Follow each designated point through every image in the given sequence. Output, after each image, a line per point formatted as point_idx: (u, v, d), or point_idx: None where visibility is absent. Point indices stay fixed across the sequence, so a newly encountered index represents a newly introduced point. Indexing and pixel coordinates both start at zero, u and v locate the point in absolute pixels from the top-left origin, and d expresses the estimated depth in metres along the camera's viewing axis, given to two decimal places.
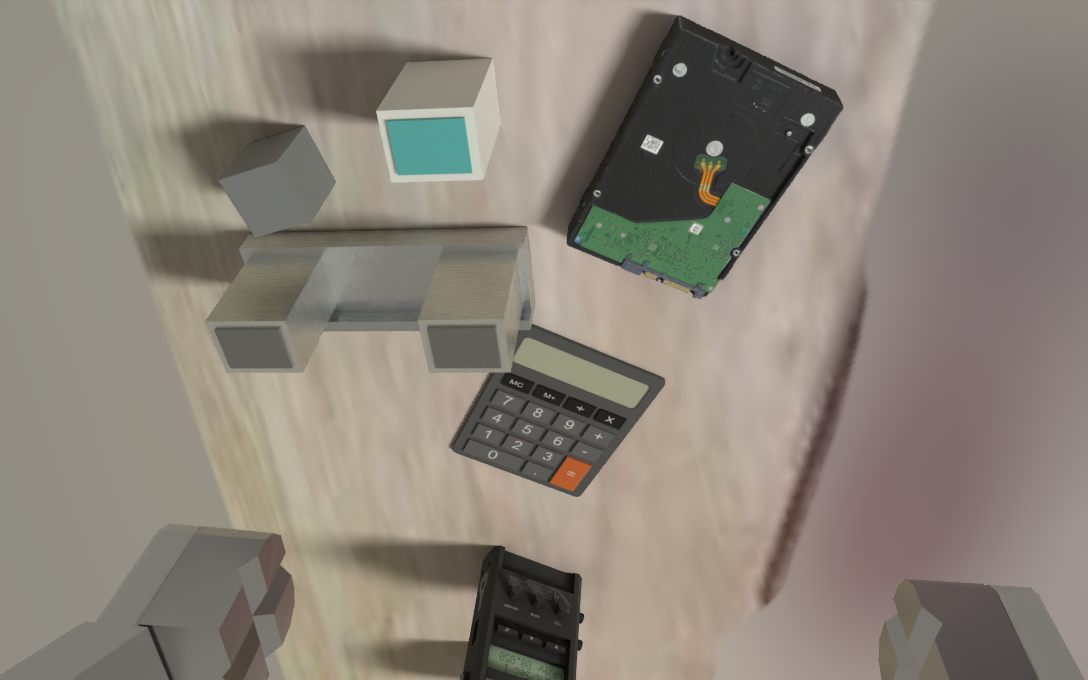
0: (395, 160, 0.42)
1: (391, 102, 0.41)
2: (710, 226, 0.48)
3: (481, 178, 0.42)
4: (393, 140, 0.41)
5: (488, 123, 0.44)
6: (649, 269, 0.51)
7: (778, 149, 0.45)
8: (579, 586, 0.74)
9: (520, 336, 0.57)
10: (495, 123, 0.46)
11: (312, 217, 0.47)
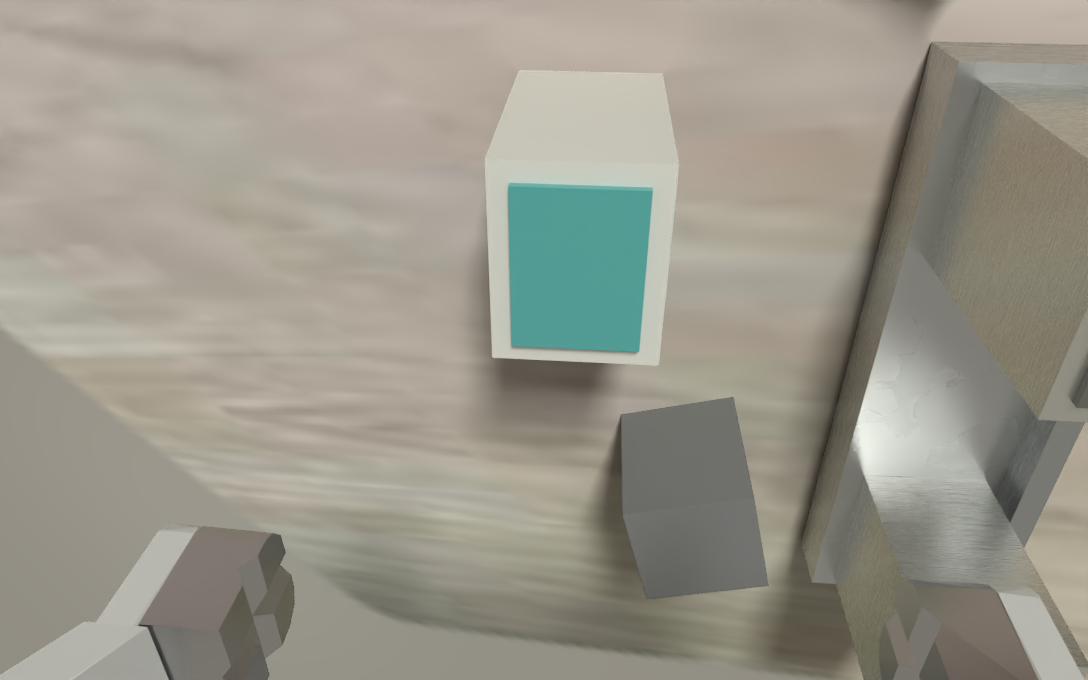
0: (603, 348, 0.19)
1: None
2: None
3: (674, 168, 0.16)
4: (555, 342, 0.19)
5: (599, 112, 0.19)
6: None
7: None
8: None
9: None
10: (635, 88, 0.21)
11: (748, 491, 0.24)
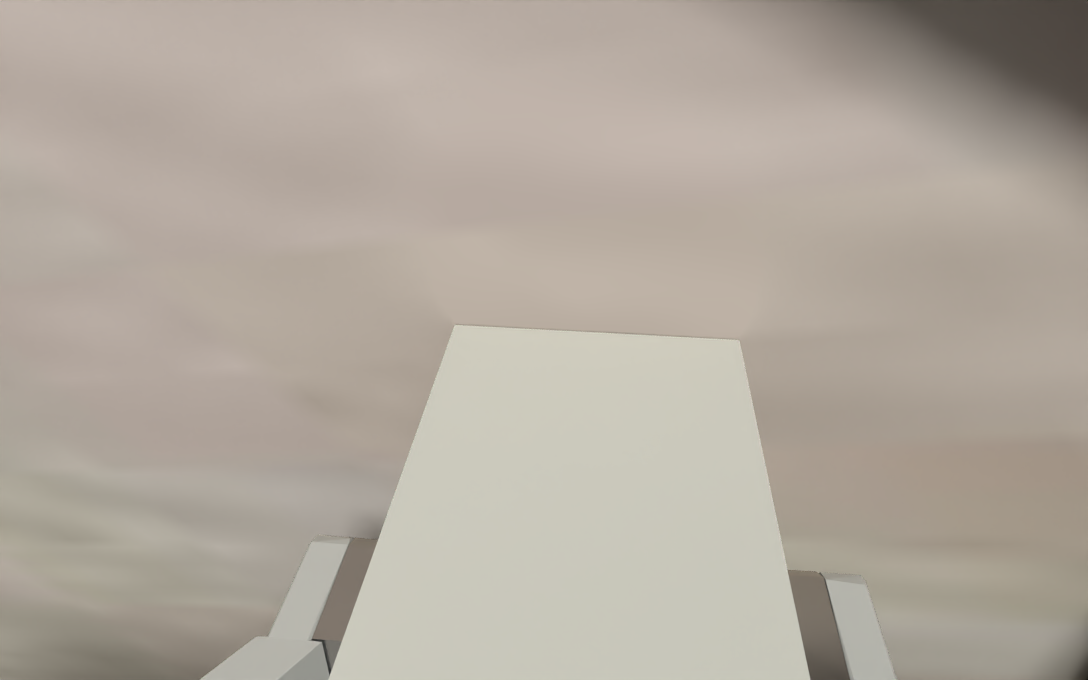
0: None
1: None
2: None
3: None
4: None
5: (611, 524, 0.08)
6: None
7: None
8: None
9: None
10: (689, 405, 0.10)
11: None
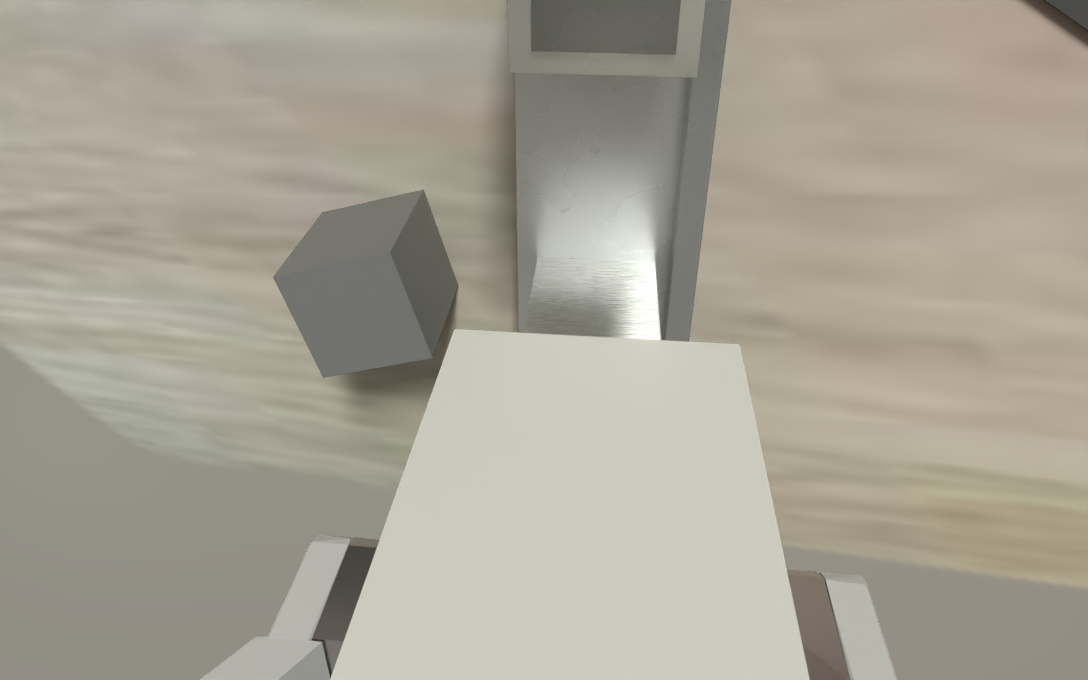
0: None
1: None
2: None
3: None
4: None
5: (611, 530, 0.08)
6: None
7: None
8: None
9: None
10: (689, 410, 0.10)
11: (388, 248, 0.25)
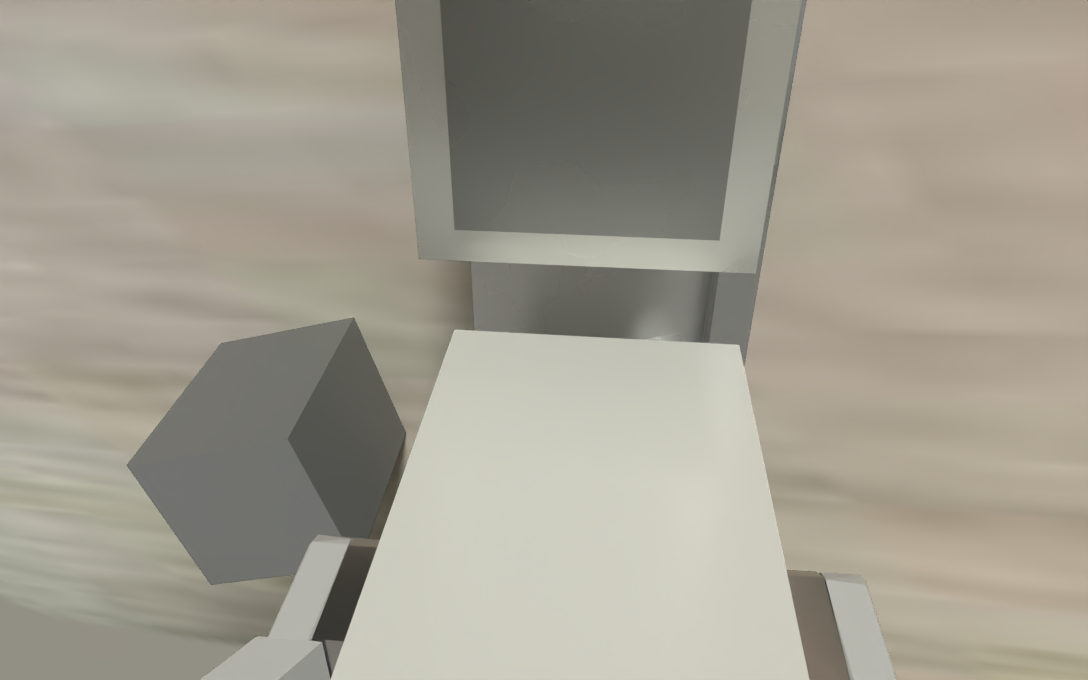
0: None
1: None
2: None
3: None
4: None
5: (611, 530, 0.08)
6: None
7: None
8: None
9: None
10: (689, 410, 0.10)
11: (287, 431, 0.17)
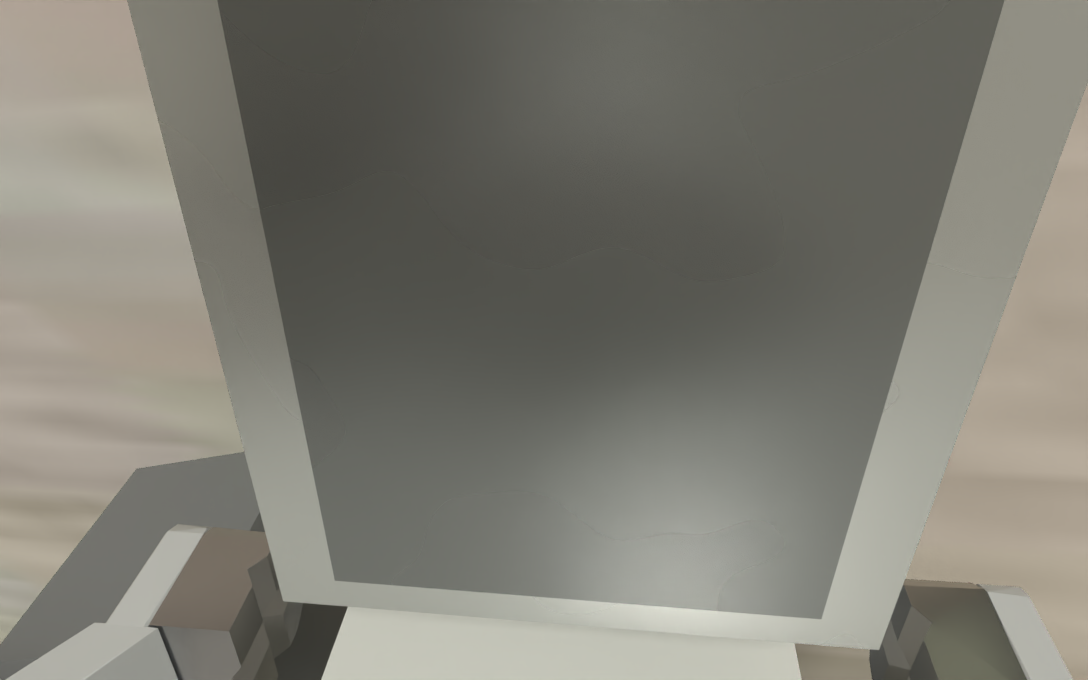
0: None
1: None
2: None
3: None
4: None
5: None
6: None
7: None
8: None
9: None
10: None
11: None
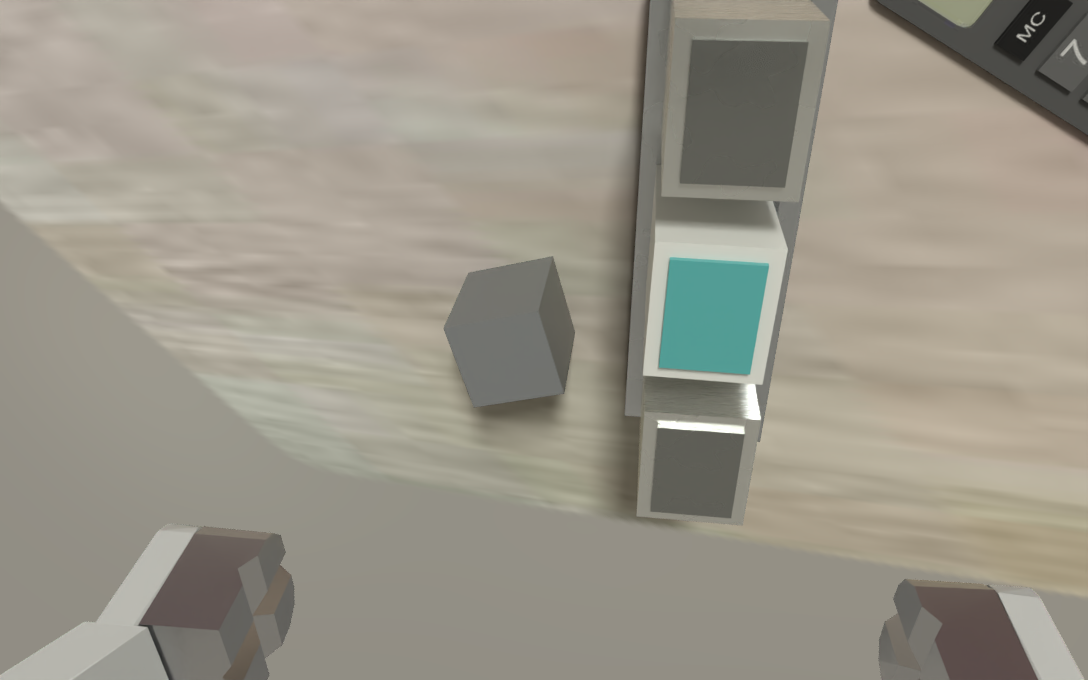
0: (724, 371, 0.27)
1: (644, 345, 0.28)
2: None
3: (784, 251, 0.24)
4: (690, 366, 0.27)
5: (724, 204, 0.27)
6: None
7: None
8: None
9: (905, 3, 0.28)
10: None
11: (536, 308, 0.31)
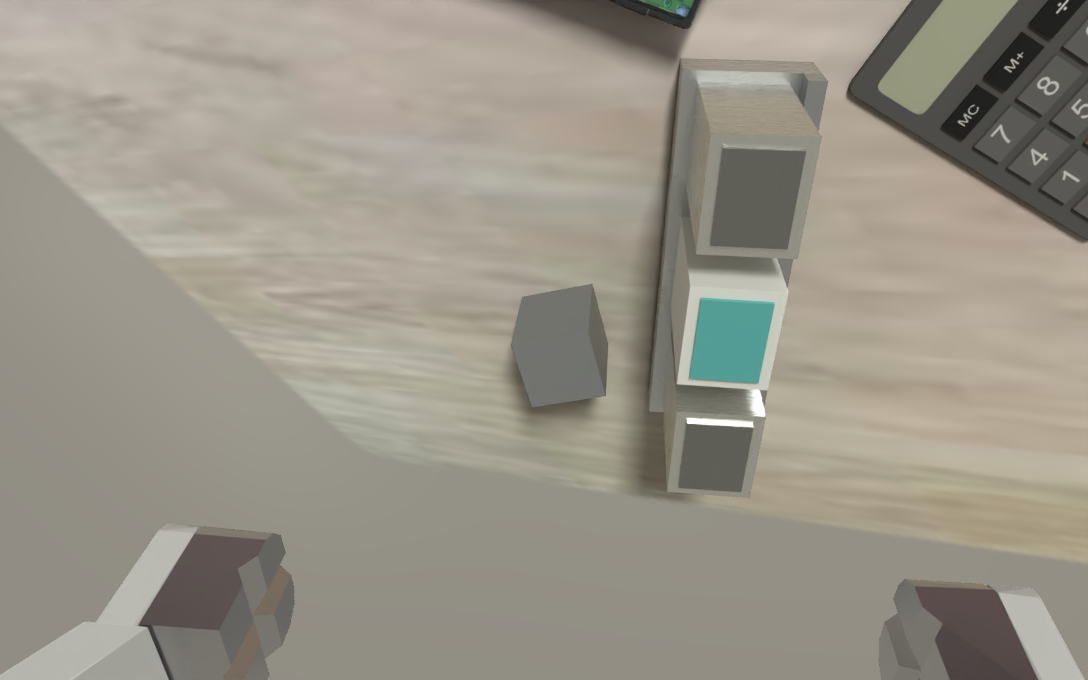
0: (739, 380, 0.35)
1: (677, 361, 0.36)
2: None
3: (786, 293, 0.33)
4: (713, 377, 0.35)
5: None
6: None
7: None
8: None
9: (873, 96, 0.37)
10: None
11: (586, 329, 0.40)
